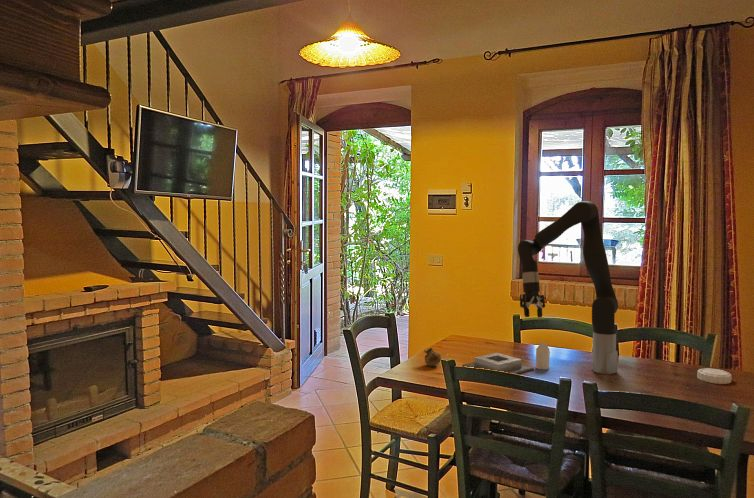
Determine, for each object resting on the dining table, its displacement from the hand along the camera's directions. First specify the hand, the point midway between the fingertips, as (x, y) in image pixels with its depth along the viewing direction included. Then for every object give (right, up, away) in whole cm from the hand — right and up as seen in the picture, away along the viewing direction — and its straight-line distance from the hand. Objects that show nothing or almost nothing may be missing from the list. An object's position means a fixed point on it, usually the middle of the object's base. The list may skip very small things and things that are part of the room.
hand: (533, 317), depth 249 cm
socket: (-19, -22, -9) cm, 30 cm away
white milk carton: (+1, -22, -9) cm, 24 cm away
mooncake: (+67, -23, -26) cm, 76 cm away
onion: (-47, -22, -5) cm, 52 cm away
